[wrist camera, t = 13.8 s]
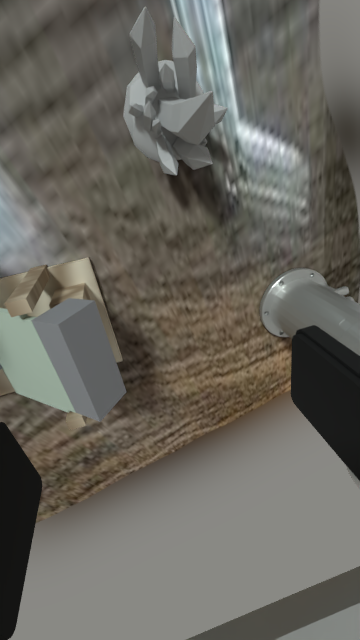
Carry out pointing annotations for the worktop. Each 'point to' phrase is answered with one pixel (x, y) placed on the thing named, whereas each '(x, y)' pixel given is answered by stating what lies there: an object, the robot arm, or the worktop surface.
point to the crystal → (168, 101)
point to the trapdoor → (62, 358)
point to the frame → (54, 304)
